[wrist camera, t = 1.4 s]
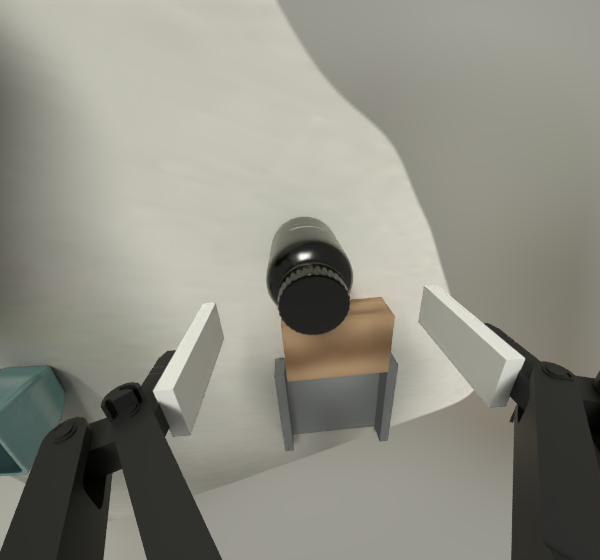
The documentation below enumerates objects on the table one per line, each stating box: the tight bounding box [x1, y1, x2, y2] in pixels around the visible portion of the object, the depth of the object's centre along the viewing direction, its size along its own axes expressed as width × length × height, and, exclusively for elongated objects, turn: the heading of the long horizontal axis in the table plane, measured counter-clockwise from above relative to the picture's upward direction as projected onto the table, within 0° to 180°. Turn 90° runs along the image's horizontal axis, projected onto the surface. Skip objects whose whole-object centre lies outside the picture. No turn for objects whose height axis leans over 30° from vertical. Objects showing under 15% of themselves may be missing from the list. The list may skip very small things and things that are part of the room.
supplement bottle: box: [266, 217, 353, 335], centre depth 22 cm, size 7×7×12 cm
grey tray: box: [275, 352, 398, 451], centre depth 36 cm, size 15×15×3 cm
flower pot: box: [0, 366, 65, 476], centre depth 29 cm, size 9×9×9 cm
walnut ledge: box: [281, 297, 395, 382], centre depth 30 cm, size 8×12×4 cm, turn 94°
